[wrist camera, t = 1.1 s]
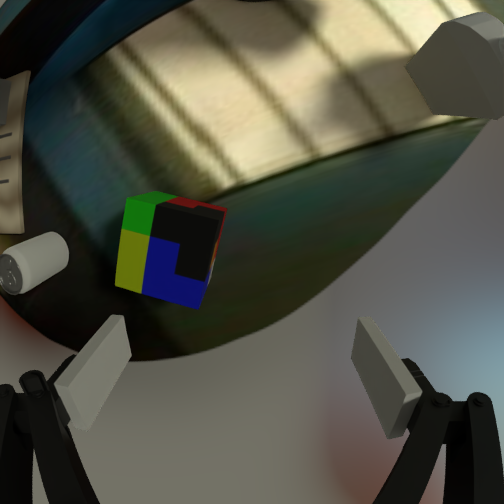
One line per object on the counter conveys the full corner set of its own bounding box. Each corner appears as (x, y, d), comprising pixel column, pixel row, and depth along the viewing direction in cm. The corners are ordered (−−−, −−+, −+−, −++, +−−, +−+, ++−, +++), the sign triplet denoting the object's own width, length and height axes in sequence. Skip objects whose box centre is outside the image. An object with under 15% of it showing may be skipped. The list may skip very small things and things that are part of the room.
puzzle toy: (210, 278, 42) (198, 309, 32) (143, 260, 41) (114, 285, 32) (227, 208, 39) (219, 220, 30) (155, 191, 39) (126, 197, 29)
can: (64, 227, 40) (15, 246, 28) (74, 267, 42) (30, 296, 30) (37, 235, 40) (-11, 254, 29) (47, 272, 42) (3, 299, 30)
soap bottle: (384, 61, 34) (497, -16, 9) (427, 42, 32) (534, -18, 7) (428, 133, 36) (568, 120, 11) (466, 109, 35) (590, 91, 10)
